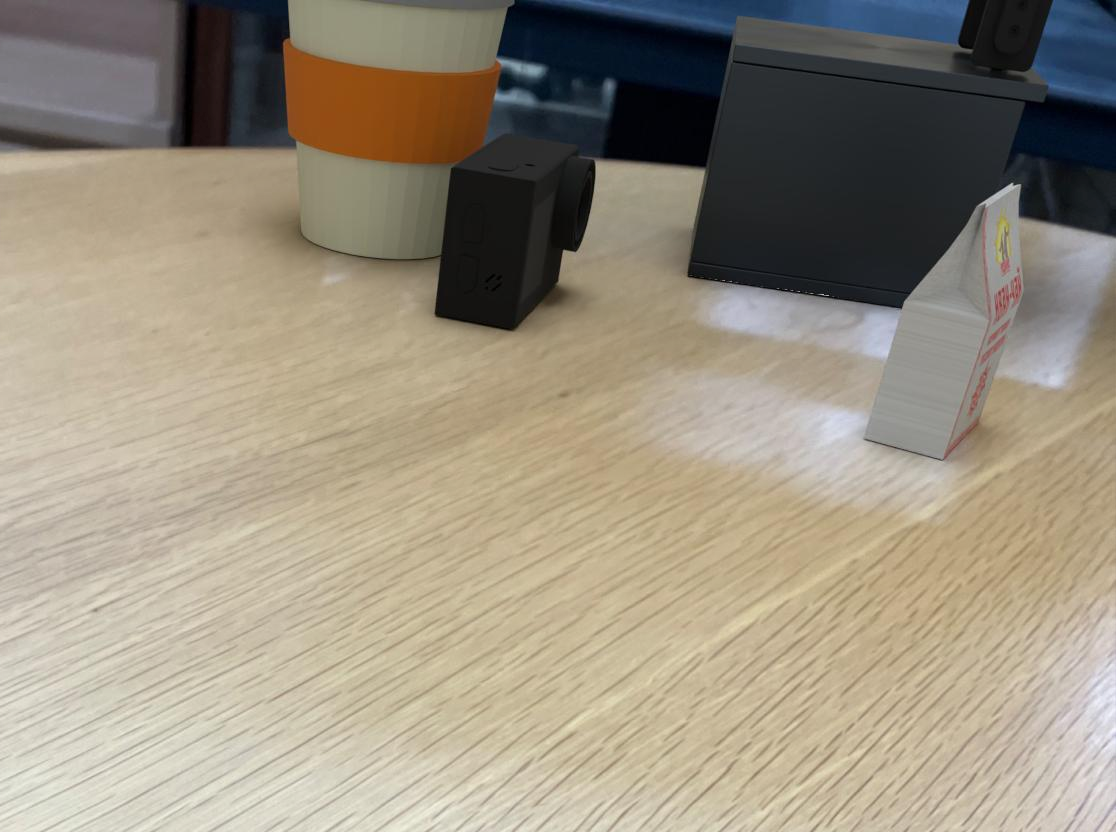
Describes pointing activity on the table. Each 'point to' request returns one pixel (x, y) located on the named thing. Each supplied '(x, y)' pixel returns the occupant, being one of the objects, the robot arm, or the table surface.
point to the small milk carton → (952, 335)
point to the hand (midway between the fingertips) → (992, 55)
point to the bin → (843, 180)
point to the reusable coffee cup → (386, 115)
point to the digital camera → (511, 227)
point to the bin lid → (877, 58)
